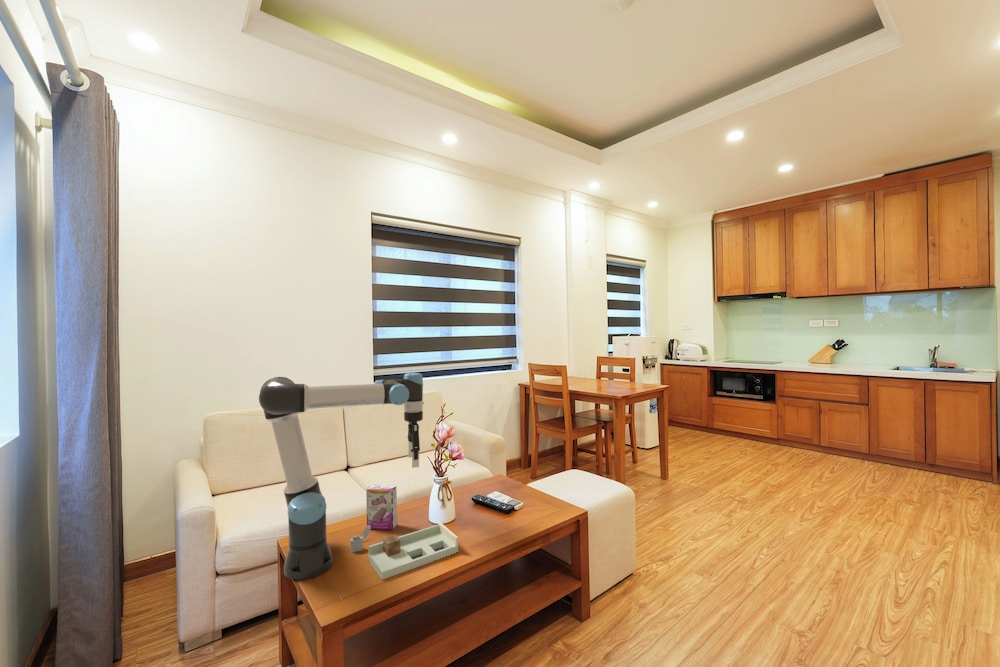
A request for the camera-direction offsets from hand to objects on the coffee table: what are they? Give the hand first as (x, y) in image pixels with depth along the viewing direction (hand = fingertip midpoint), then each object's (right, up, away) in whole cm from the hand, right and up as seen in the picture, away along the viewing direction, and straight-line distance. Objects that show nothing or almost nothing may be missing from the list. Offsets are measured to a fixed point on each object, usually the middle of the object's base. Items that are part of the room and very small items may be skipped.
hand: (413, 462), depth 174 cm
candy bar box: (-12, -26, -2) cm, 29 cm away
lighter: (-15, -27, -19) cm, 36 cm away
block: (-2, -24, -26) cm, 35 cm away
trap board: (+5, -26, -24) cm, 36 cm away
